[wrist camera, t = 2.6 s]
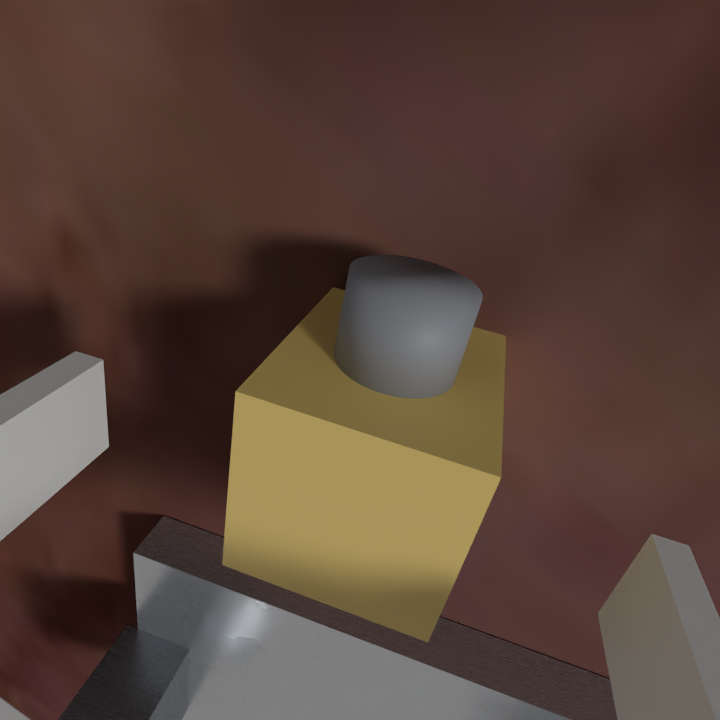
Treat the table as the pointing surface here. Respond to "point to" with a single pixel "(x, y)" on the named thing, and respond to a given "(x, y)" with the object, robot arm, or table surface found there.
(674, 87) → the table surface
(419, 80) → the table surface
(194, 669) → the grey mounting plate
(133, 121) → the table surface
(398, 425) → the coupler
